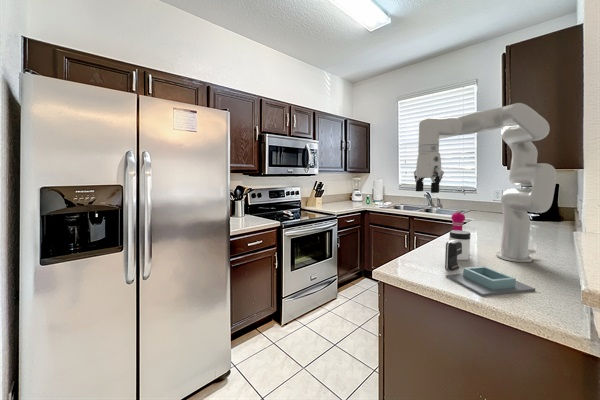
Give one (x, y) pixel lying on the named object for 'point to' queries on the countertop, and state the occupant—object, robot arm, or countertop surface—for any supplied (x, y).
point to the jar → (464, 239)
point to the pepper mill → (458, 220)
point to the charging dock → (488, 282)
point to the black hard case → (452, 254)
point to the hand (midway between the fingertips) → (426, 192)
